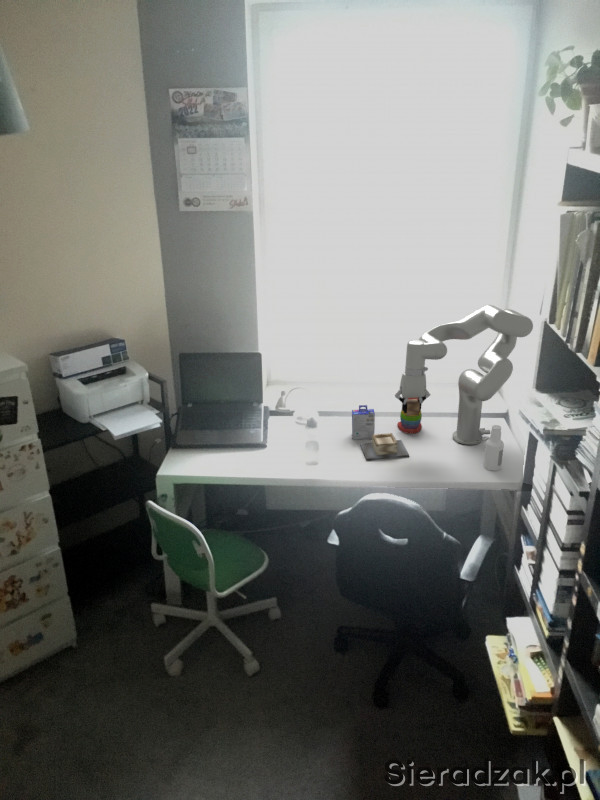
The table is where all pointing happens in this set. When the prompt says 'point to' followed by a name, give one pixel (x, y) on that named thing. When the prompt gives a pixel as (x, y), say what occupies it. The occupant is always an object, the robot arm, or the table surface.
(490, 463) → the spray bottle
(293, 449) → the table surface
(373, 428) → the ink cartridge box
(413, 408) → the walnut block
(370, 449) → the build base
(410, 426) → the stacking bear
